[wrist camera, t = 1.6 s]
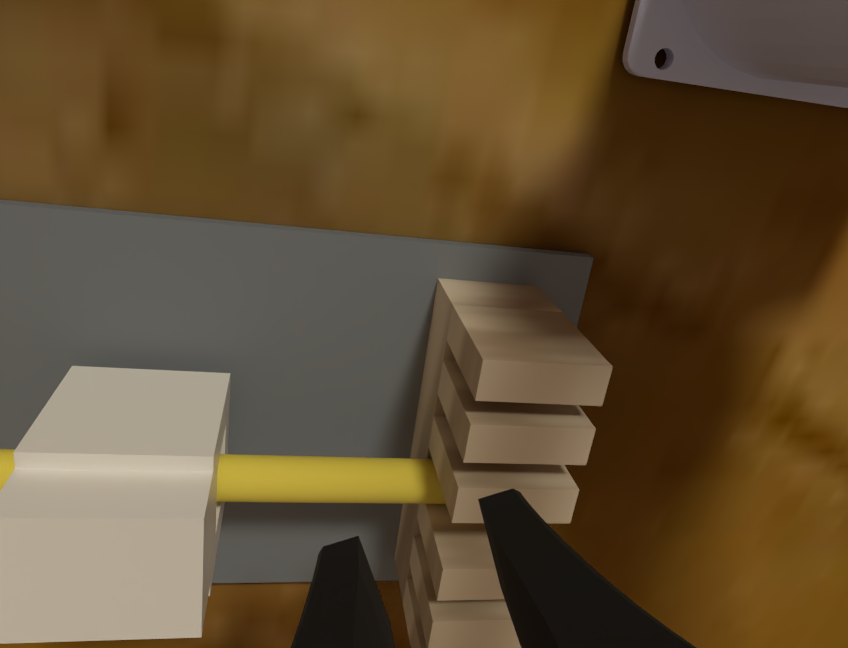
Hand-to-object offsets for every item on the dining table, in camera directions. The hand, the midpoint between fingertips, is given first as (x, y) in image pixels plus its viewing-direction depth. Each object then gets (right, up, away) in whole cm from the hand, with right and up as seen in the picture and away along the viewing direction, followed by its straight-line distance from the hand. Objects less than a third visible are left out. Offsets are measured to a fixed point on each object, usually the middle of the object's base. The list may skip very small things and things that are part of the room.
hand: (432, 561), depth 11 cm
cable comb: (+1, +1, +10) cm, 10 cm away
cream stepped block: (-8, +1, +8) cm, 12 cm away
